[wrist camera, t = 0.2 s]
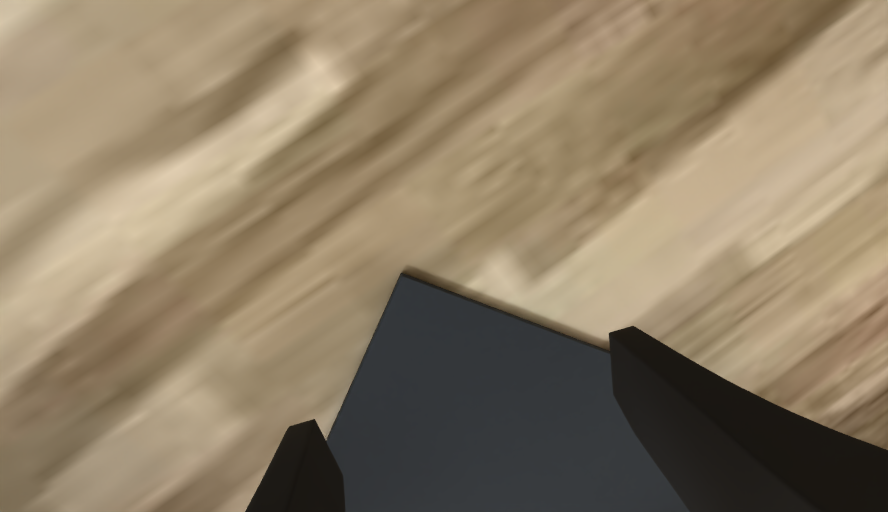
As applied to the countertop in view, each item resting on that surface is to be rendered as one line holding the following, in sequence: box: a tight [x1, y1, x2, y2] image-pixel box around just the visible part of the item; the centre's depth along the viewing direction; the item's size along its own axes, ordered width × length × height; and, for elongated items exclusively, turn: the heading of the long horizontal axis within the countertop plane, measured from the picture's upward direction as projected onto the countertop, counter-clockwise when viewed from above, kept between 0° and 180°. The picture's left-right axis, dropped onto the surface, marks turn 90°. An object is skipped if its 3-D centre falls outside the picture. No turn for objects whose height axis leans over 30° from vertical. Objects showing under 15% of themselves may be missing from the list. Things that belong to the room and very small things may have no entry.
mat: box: [326, 273, 690, 512], centre depth 25 cm, size 14×22×1 cm, turn 65°
